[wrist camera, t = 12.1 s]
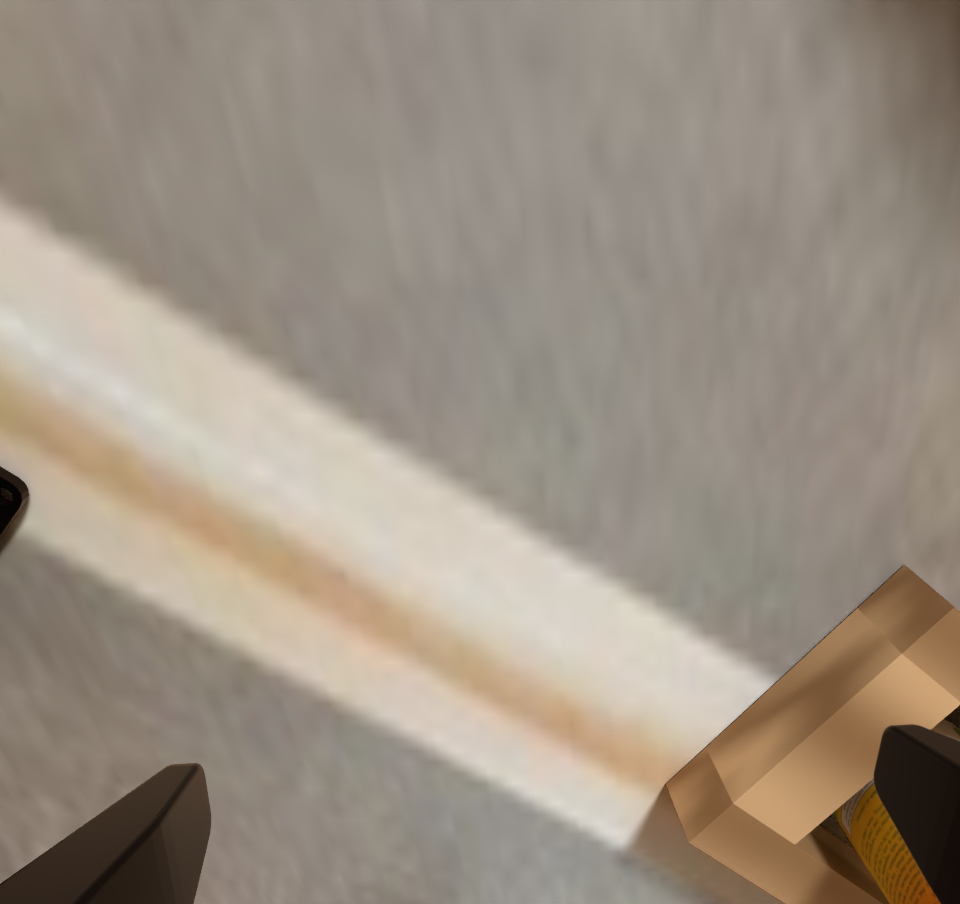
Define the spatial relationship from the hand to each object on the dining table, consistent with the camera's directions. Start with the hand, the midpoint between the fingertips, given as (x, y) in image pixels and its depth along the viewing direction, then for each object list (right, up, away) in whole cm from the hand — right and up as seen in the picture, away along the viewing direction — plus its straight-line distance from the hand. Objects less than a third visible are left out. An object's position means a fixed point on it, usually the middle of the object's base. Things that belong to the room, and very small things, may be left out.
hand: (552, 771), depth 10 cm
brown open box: (+14, -7, +18) cm, 24 cm away
